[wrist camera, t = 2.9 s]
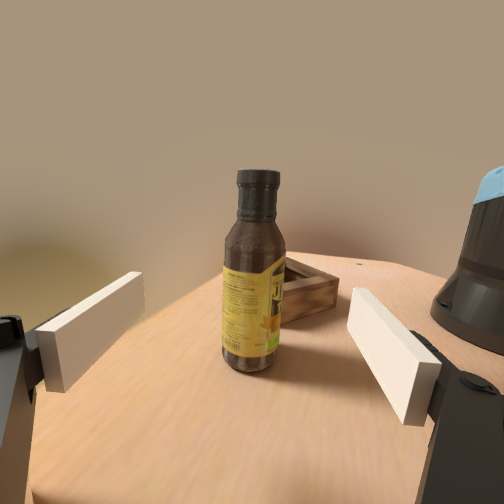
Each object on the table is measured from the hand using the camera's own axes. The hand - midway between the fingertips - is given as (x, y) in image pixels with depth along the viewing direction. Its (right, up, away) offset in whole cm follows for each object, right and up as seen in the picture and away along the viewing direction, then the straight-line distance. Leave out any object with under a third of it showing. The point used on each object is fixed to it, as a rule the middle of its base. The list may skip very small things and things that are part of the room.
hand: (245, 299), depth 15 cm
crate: (+5, -5, +27) cm, 28 cm away
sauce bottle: (0, -9, +12) cm, 15 cm away
